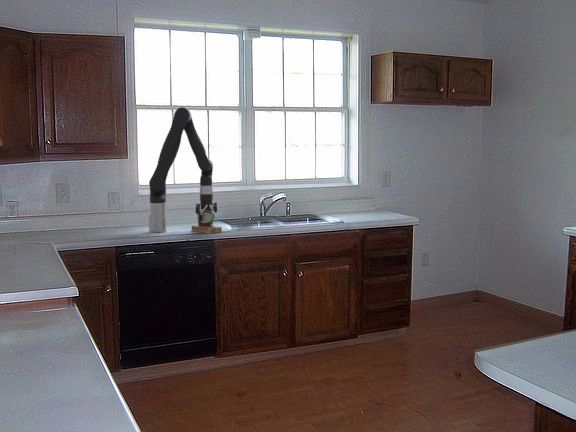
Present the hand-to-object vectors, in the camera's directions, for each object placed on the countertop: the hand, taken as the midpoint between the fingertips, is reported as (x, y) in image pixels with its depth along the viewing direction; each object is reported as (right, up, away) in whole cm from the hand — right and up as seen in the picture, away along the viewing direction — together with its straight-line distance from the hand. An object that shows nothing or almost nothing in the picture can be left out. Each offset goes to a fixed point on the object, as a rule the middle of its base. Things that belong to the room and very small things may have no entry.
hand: (206, 220), depth 373 cm
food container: (+1, -4, +1) cm, 4 cm away
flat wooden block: (0, -7, +1) cm, 7 cm away
